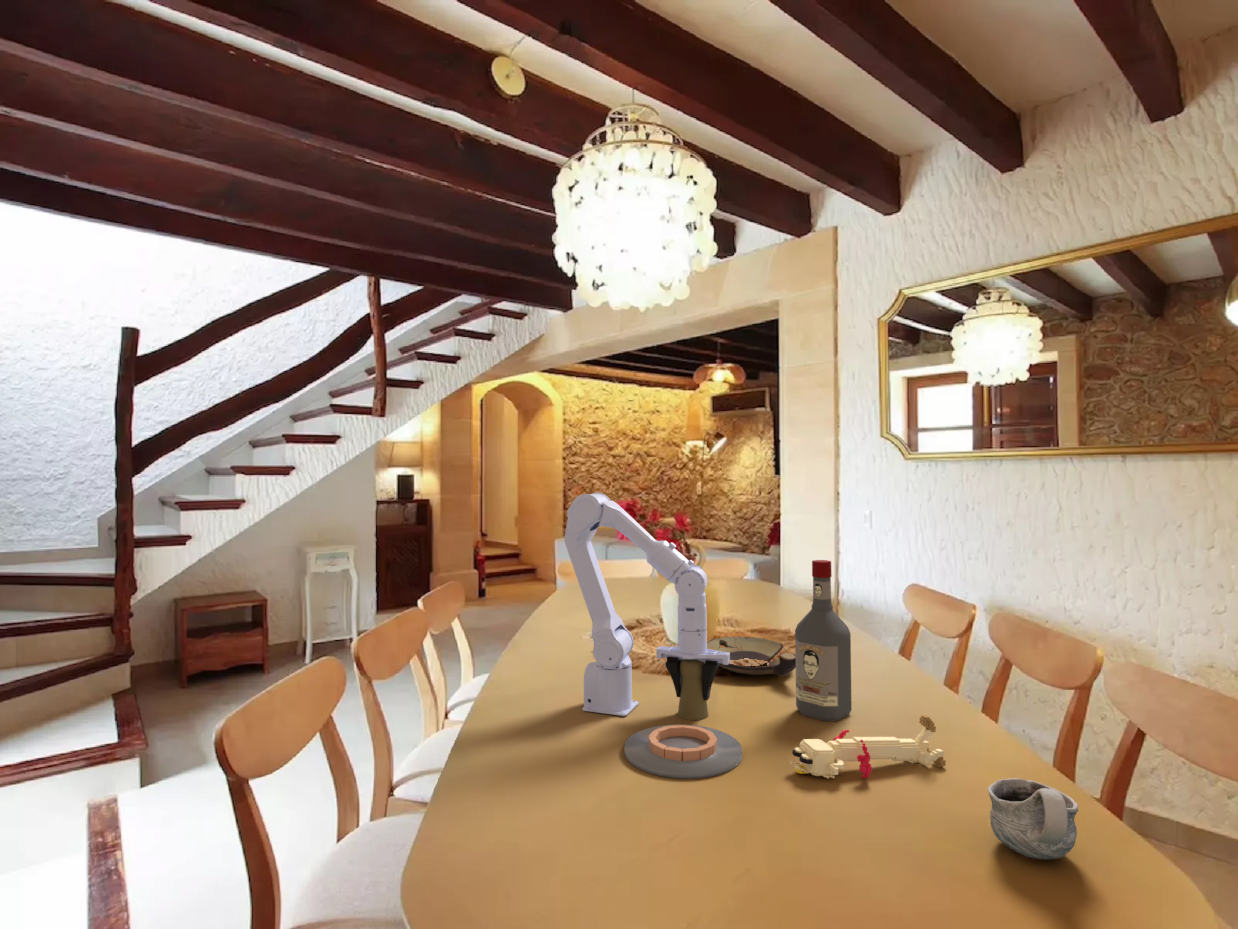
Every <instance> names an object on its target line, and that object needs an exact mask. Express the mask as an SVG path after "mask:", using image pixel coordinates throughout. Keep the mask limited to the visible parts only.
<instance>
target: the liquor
mask: <svg viewBox="0 0 1238 929" xmlns="http://www.w3.org/2000/svg"><path fill="white" fill-rule="evenodd" d="M832 574H833V573H832V560H827V559H826V560H825V559H824V560H823V559H814V560H812V561H811V576H812V604H811V609H810V610H809V611H808V612H807V614H806V615H805V616H803V618H802V619H801V620H800V621H799V622H798V623H797V624H796V628H795V630H794V633H795V634H794V638H795V639H794V640H795V642H794V643H795V646H794V647H795V652H794V654H795V656H796V668H795V705H796V708H797V709H798V711H799V713H800V714H801V715H802V716H805V717H809V718H813V719H815V720H816V719H817V720H820V721H824V722H838V721H839V720H841V719H843V718H845V717H847V716H850V713H851V712H852V709H853V708H852V659H851V658H852V657H851V656H852V652H851V651H852V650H851V649H852V648H851V647H852V645H851V643H852V642H851V640H852V639H851V631H850V629H849V627H848V626H847V624H846V623H845V622H844V620H842V618H841V617H840V616H839V615H838V614H837V613H836V612H835V611H834V607H833V603H832V583H831V582H832V581H831V579H832Z"/></svg>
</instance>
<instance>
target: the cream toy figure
mask: <svg viewBox="0 0 1238 929" xmlns="http://www.w3.org/2000/svg"><path fill="white" fill-rule="evenodd" d="M918 721H919V724H920V725H922V726H923V729H922V730H921V731H920V733H918V735H916V737H915V738H914V739H913V738H897V737H896V736H852V738H844V737H845V736H847V733H850V729H845V730H842V731H841V732H840V733H839V734H838V735H837V736H834V737H833V739H832V740H828V741H827V742H826V741H823V739H819V738H807V739H806V738H803V739H802V740H801V741H800V743H799V747H798V746H797V747H795V748H794V749H792V751H791V752H792V753H791V754H792V755H793V756H794V757H797V758H798V761H799V762H795V761H793V760H790V761H789V764H790V765H793V766H794V771H795V773H798V774H802V775H803V774H804V775H806V774H811V775H812V776H815V777H821V776H822V777H824V778H826V779H829V778H832V779H835V776H836V775H839V770H843V769H844V768H845V764H846V763H847V762H855V763H856V762H858V763H860V764H859V768H858V769H859V770H858V771H859V772H860V773H862V775H860V777H861V778H862V779H866V778H870V775H871V774H872V771H873V770H872V769H873V767H872V765H871V763H870V761H871V760H892V761H894V762H901V761H902V762H908V763H911V764H912V763H913V764H914V763H920V764H921V765H922V766H925V765H926V766H929V765H930V764H932V763H933V765H934V766H935V767H937V768H942V767H946V759H944V753H945V752H944V750H943V749H941V748H935V749H934V750H931V749H930V742H929V741H927V739H928V738H930V739H931V737H932V736H933V735H934V734H935V733H936V731H937V730H936V728H937V727H936V726H935V722H934V721H933V720H932V718H931V717H930V716H928V715H926V714H925V715H921V716H919V720H918Z"/></svg>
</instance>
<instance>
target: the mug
mask: <svg viewBox="0 0 1238 929" xmlns="http://www.w3.org/2000/svg"><path fill="white" fill-rule="evenodd" d="M987 792H988V795H989V798H990V801H991V808H990V815H989V817H990V825H991V826H990V828H991V830H992V832H993V834H994V836H995V837H996V838H997V839H998V840H999V841H1000V842H1001V843H1002V844H1003V845H1005V846H1006V847H1007V848H1009V849H1010V850H1013V851H1014V852H1016V853H1018V854H1020V855H1021V856H1024V857H1027V858H1030V859H1031V858H1032V859H1038V860H1048V861H1050V860H1055V859H1061V858H1063V857H1065V856H1066V855H1067V854H1069V853H1070V852H1071V851H1072V849H1073V848H1074V847H1075V844H1076V841H1077V840H1076V839H1077V833H1078V831H1077V830H1078V829H1077V825H1076V823H1075V817H1076V815H1077V813H1078V812H1079V804H1078V803H1077V802H1076V801H1075V799H1073V798H1072V797H1071V796H1069V795H1067V794H1066V793H1063V792H1062V791H1060V790H1059V789H1057V788H1054V787H1051V786H1049V785H1046V784H1044V783H1041V782H1038V781H1036V780H1035V781H1034V780H1031V779H1028V780H1027V779H1025V778H1024V779H1023V778H1016V777H1015V778H1001V779H999V780H996V781H994V782H993V783H991V784H990V785H988V788H987Z"/></svg>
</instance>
